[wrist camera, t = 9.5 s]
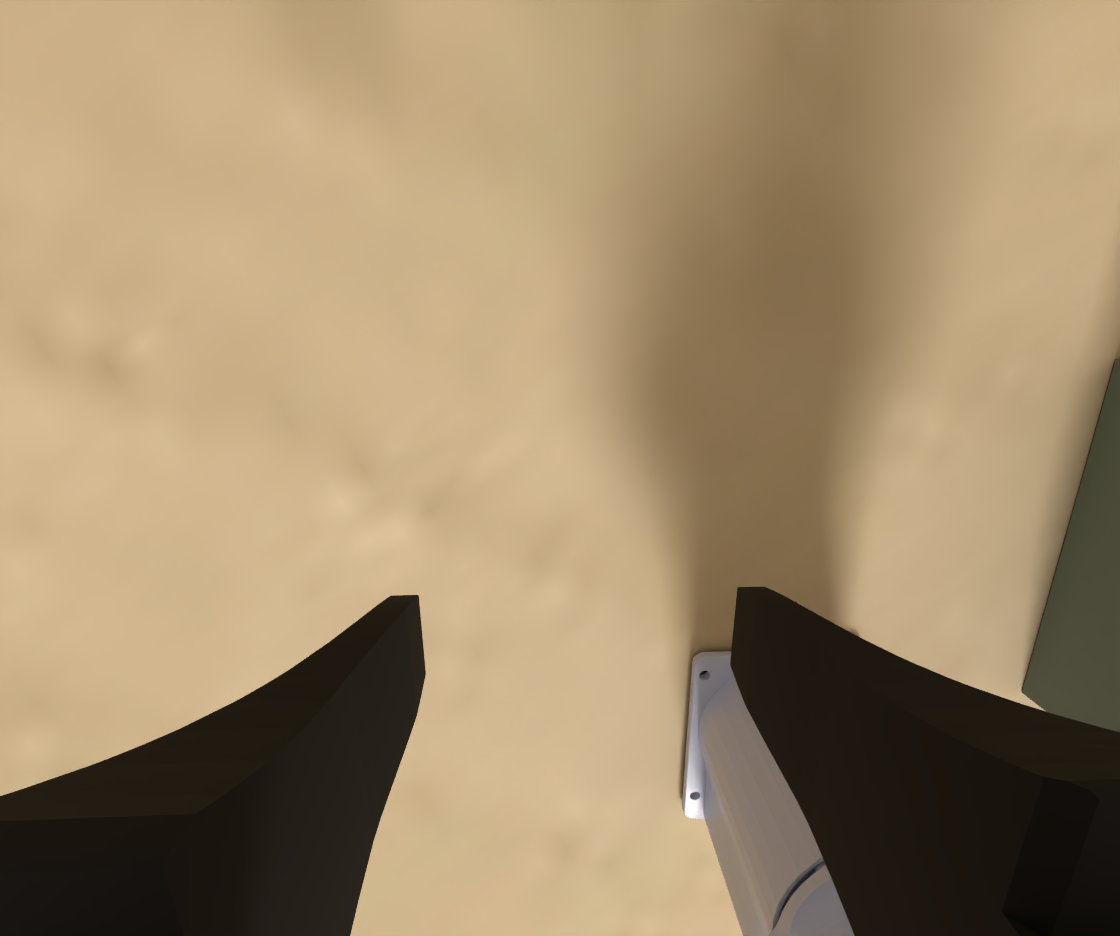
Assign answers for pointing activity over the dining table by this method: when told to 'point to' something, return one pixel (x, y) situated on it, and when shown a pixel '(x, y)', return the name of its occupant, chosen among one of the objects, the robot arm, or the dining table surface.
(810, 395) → the dining table surface
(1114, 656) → the box
